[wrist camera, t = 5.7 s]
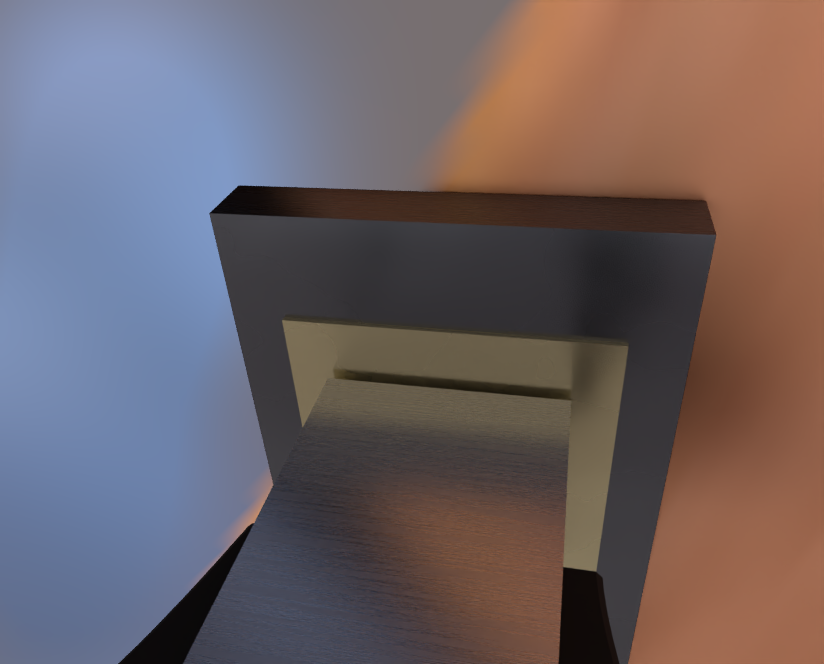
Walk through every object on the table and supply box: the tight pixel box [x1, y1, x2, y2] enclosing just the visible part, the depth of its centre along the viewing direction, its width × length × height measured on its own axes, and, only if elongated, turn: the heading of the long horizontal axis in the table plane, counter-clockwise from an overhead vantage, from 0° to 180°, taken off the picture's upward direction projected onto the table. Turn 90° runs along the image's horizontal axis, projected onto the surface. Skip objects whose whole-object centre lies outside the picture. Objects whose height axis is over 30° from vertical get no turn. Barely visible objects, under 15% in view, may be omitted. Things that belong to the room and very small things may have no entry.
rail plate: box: [210, 186, 716, 664], centre depth 18 cm, size 8×22×1 cm, turn 4°
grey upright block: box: [183, 378, 571, 664], centre depth 11 cm, size 4×4×6 cm
